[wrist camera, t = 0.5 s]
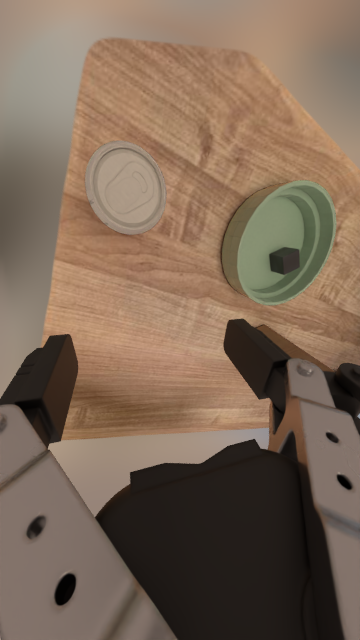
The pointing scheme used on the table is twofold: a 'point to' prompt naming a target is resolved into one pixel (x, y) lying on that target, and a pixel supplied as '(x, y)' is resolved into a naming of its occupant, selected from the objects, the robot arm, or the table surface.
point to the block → (284, 260)
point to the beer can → (125, 187)
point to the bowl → (279, 240)
